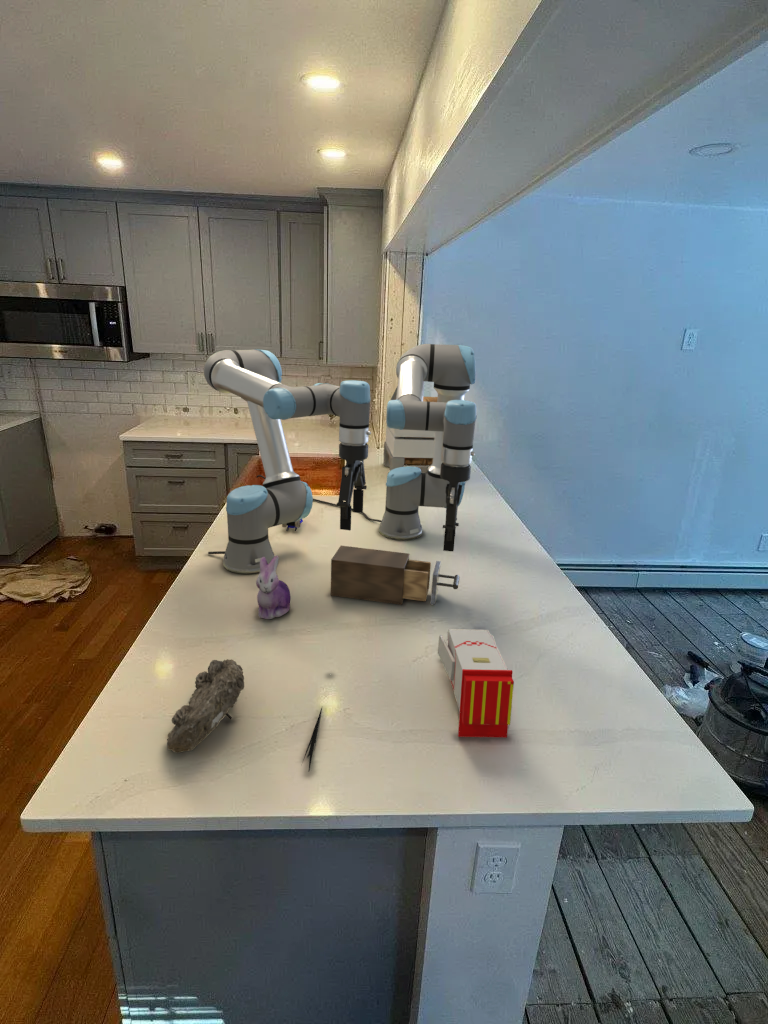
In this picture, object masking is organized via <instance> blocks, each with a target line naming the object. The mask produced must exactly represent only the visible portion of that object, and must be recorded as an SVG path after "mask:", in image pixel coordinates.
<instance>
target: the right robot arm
mask: <svg viewBox="0 0 768 1024" xmlns="http://www.w3.org/2000/svg"><path fill="white" fill-rule="evenodd" d="M476 372H477V371H476V356H475V351H474V349H473V347H471V346H468V345H461V344H440V343H439V344H438V343H437V344H436V343H435V344H434V343H421V344H418V345H415V346H413V347H411V348H409V349H408V350H407V351H405V352H404V353H403V354H401V356H400V357H399V359H398V361H397V362H396V367H395V375H396V378H397V379H398V380H397V386H396V388H397V395H396V400H391V399H390V400H388V402H387V405H386V412H387V423H386V426H388V427H389V428H393V429H399V430H425V431H435V438H434V451H433V463H432V464H431V465H430V466H429V465H428V466H427V472H422V469H421V468H420V467H419V466H418V467H417V466H407V465H406V466H404V467H399V468H395V469H393V470H391V471H390V470H389V471H388V473H387V475H386V482H385V487H386V488H385V489H386V490H385V504H384V505H385V507H384V508H385V509H384V513H383V515H382V519H376V518H370V517H369V516H368V515H367V514H366V513H365V512H364V511H363V513H361V514H362V515H363V516H364V517H365V518H366V519H367V520H368V521H371V522H378V523H379V526H378V533H379V534H380V535H381V536H382V537H385V538H387V539H389V540H395V541H410V540H415V539H418V538H420V537H421V536H422V535H423V525H422V524H421V518H420V515H419V507H425V508H426V507H427V508H443V509H445V520H444V523H445V524H443V525H442V529H444V534H443V546H442V547H443V548H442V549H443V551H444V552H453V553H454V551H455V542H456V530H457V527H459V524H460V523H459V522H457V520H458V508H459V506H460V505H461V503H462V500H463V497H464V493H465V489H466V487H465V486H466V482H468V481H469V480H470V479H471V472H472V466H471V464H472V458H473V457H474V456H475V455H476V453H475V451H473V449H474V437H475V430H476V422H477V415H478V414H477V404H476V402H474V401H471V400H465V395H466V394H467V393H468V392H469V391H470V388H471V385H475V383H476V375H477V374H476ZM424 382H429V383H433V389H434V390H435V391H436V393H437V397H438V398H437V402H425V401H423V397H424V386H425V385H424V384H425V383H424ZM259 477H260V478H262V479H263V480H265V479H266V476H263V475H262V474H257V475H256V478H259ZM313 502H318V503H321V504H326V505H330V506H334V507H338V508H340V506H337V503H333V502H330V501H329V502H328V501H325V500H320V499H316V498H313ZM351 511H353V507H351Z"/></svg>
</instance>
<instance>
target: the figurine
mask: <svg viewBox="0 0 768 1024" xmlns="http://www.w3.org/2000/svg"><path fill="white" fill-rule="evenodd" d="M278 565H279V556H278V555H275V557H274V558H273V559H272V560H271V562H270V563H269V564H268V563H267V561H266V559H265V557H262V558H261V559H260V572H259V573H258V576H257V577H256V581H255V584H256V587H257V589H259V590H258V591H257V594H256V602H257V605H258V613H257V615H258V618H260V619H263V620H264V619H266V620H272V619H275V618H280V617H282V616H283V615H285V614H287V613H288V612H289V611H290V608H291V599H292V596H291V591H290V588H289V586H288V584H287V583H286V582H284V581H283V580H280V579H279V577H278V576H279V575H278V573H277V572H276V571H277V568H278Z"/></svg>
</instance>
